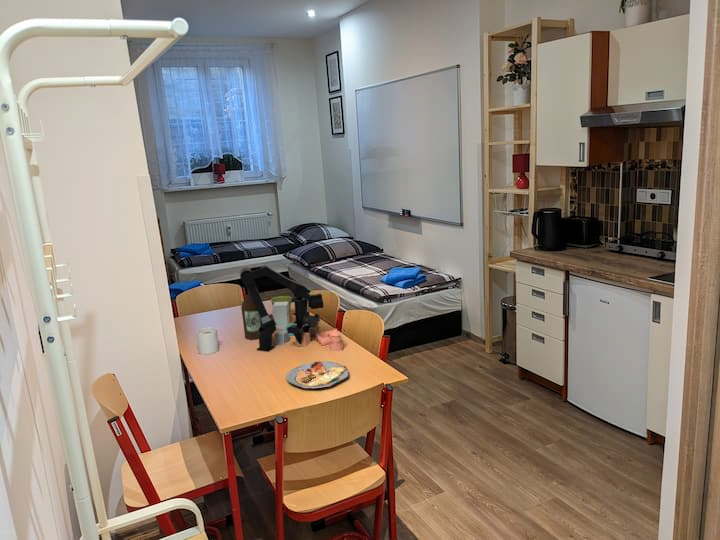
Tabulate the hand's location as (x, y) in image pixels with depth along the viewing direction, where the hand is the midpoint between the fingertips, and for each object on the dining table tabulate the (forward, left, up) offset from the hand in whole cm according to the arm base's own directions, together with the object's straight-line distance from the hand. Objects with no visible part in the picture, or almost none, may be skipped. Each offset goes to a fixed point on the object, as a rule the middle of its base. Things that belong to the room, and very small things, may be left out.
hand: (302, 341), depth 259 cm
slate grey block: (0, +11, -1) cm, 11 cm away
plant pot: (+32, +28, -1) cm, 43 cm away
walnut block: (+11, 0, -1) cm, 11 cm away
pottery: (+2, -14, -2) cm, 14 cm away
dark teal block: (+11, +11, -1) cm, 16 cm away
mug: (-19, +39, -1) cm, 43 cm away
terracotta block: (0, 0, -1) cm, 1 cm away
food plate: (-33, -23, -2) cm, 40 cm away
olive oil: (+3, +28, -1) cm, 28 cm away
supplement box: (+20, +22, -1) cm, 30 cm away
